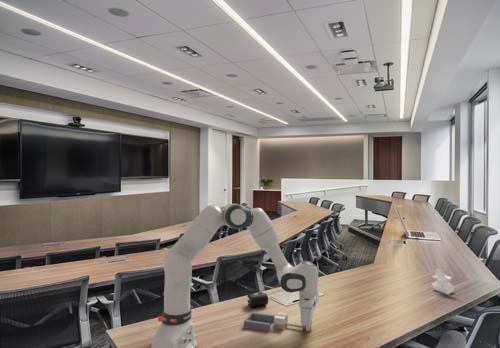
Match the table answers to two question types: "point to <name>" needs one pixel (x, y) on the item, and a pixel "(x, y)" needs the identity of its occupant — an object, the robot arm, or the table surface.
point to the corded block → (286, 322)
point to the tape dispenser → (442, 282)
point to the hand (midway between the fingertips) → (309, 327)
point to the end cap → (257, 299)
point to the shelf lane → (258, 325)
